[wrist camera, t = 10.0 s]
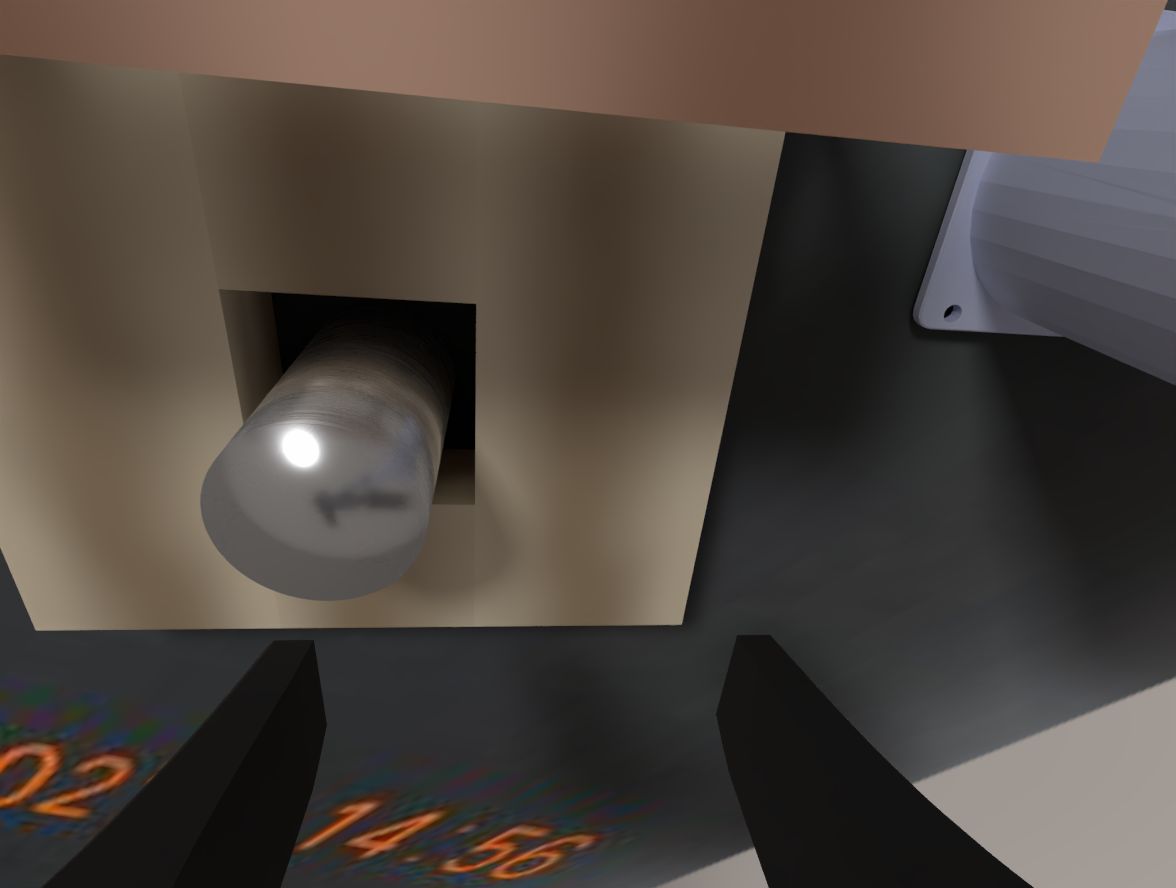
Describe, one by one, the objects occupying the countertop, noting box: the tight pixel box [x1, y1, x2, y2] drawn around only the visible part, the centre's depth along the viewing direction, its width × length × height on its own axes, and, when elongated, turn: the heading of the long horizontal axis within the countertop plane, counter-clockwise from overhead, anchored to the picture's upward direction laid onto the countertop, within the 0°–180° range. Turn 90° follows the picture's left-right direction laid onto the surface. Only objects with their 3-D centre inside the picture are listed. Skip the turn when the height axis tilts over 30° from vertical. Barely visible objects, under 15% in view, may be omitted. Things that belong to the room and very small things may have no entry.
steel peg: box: [200, 305, 455, 601], centre depth 15 cm, size 4×4×7 cm
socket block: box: [0, 0, 1168, 630], centre depth 12 cm, size 19×20×10 cm
